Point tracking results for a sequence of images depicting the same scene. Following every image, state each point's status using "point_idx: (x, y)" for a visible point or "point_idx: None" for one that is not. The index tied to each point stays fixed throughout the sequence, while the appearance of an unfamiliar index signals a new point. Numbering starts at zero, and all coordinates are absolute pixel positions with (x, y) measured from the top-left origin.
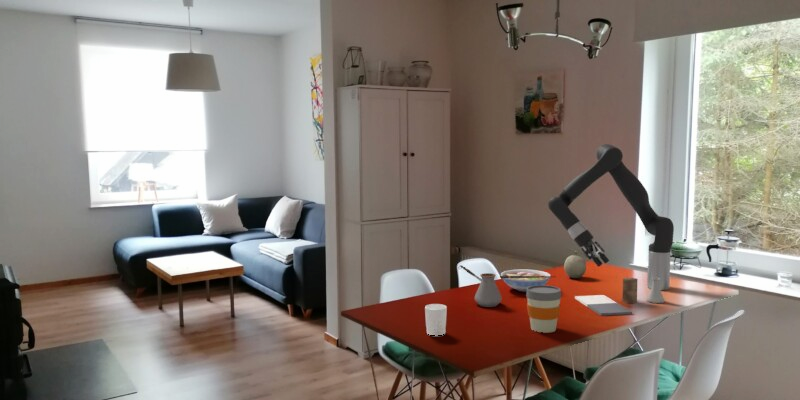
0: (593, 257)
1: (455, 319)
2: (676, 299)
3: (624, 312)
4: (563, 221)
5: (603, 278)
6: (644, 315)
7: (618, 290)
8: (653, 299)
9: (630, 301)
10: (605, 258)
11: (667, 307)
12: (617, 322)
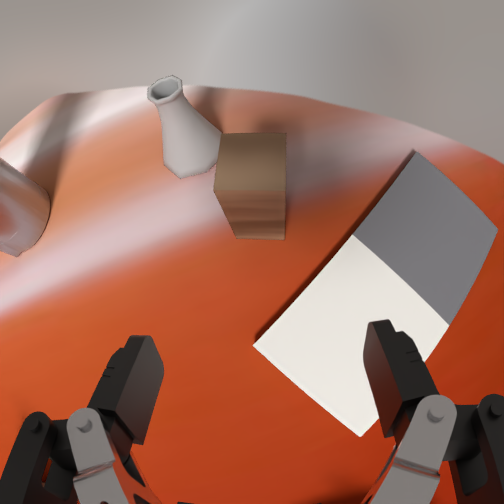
0: (469, 409)
1: None
2: (136, 120)
3: (438, 171)
4: None
5: (7, 413)
6: (395, 125)
7: (102, 327)
8: (218, 138)
9: (285, 201)
10: (139, 374)
11: (252, 100)
12: (498, 171)
